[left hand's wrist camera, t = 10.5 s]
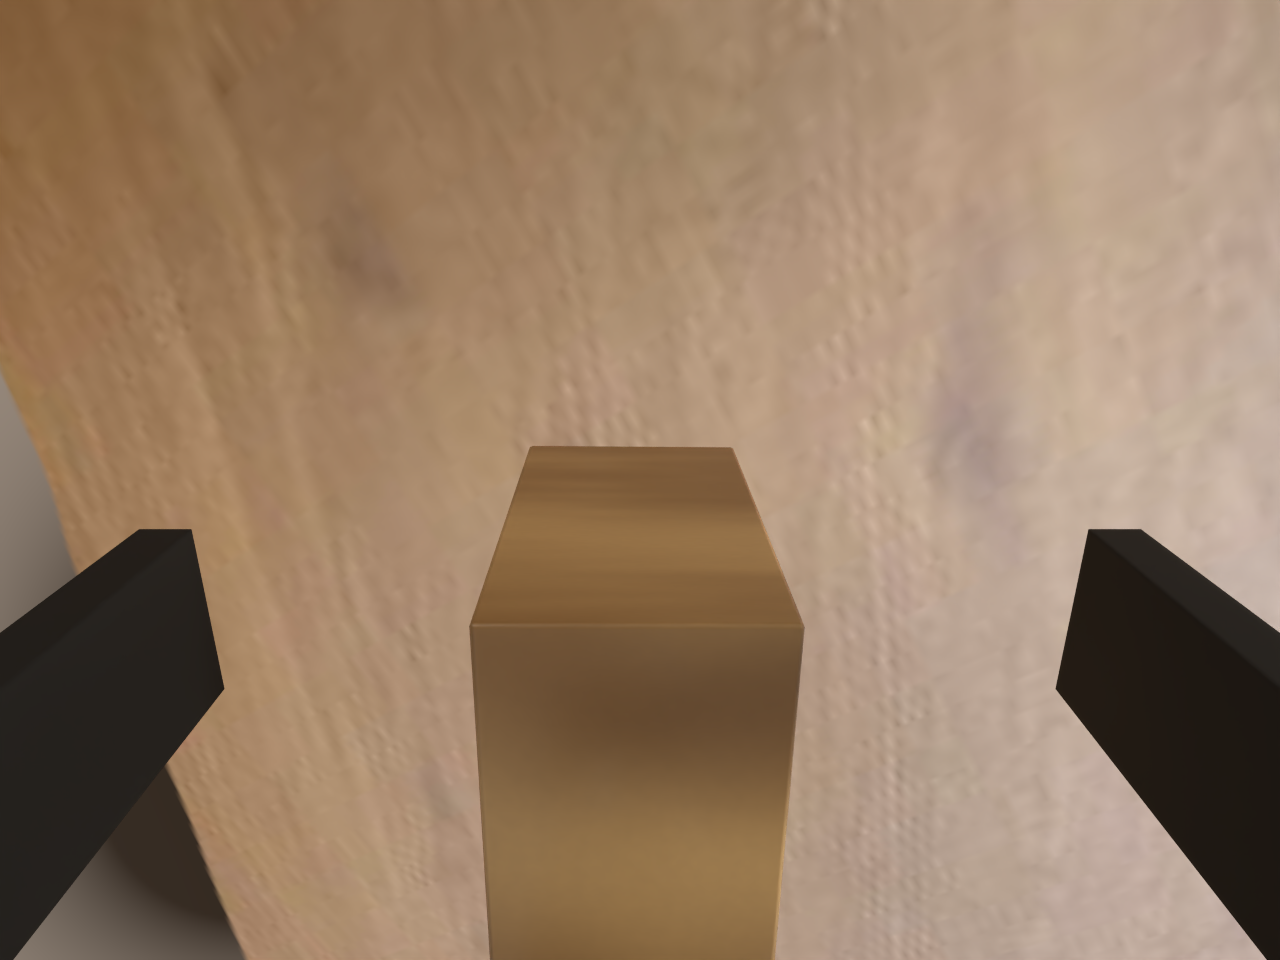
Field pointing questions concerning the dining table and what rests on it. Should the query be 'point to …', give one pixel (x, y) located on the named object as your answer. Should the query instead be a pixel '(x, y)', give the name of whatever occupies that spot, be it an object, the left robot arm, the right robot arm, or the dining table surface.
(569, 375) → the dining table surface
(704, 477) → the bar
